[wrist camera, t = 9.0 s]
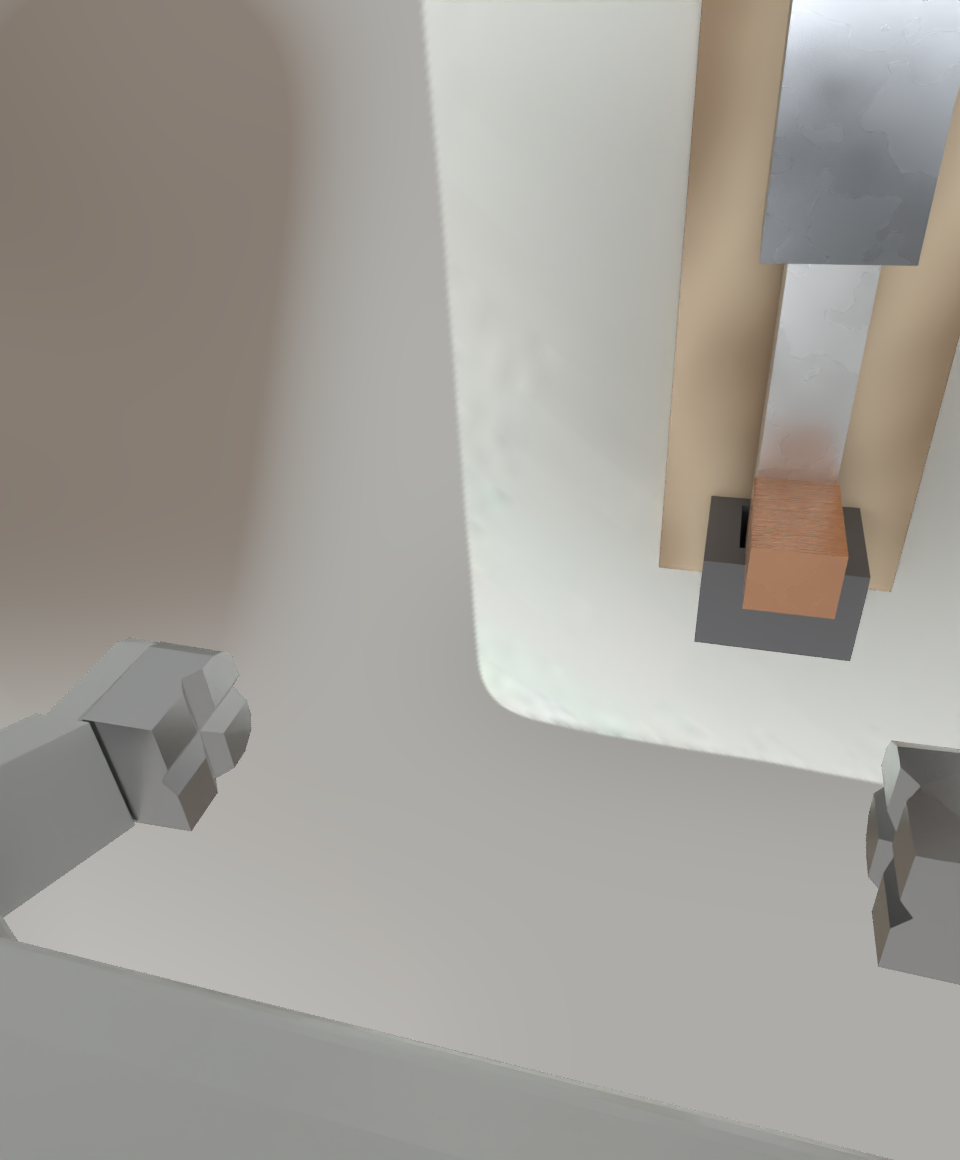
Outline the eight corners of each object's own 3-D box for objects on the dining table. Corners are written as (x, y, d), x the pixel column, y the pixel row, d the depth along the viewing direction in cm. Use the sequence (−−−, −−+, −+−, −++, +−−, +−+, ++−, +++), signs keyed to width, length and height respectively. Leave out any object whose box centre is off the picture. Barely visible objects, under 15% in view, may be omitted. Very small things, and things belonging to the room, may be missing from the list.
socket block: (859, 508, 36) (870, 577, 32) (842, 586, 38) (849, 661, 34) (711, 495, 37) (703, 560, 33) (702, 571, 39) (694, 641, 35)
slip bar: (887, 188, 28) (917, 250, 22) (811, 570, 37) (818, 689, 31) (791, 189, 29) (795, 248, 23) (739, 562, 38) (732, 678, 32)
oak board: (1069, -109, 25) (1078, -111, 24) (888, 579, 38) (891, 591, 37) (710, -80, 27) (708, -81, 26) (661, 555, 41) (659, 567, 40)
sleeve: (971, -103, 24) (1004, -115, 21) (900, 229, 30) (917, 266, 26) (801, -89, 26) (804, -97, 22) (761, 228, 31) (759, 263, 27)
